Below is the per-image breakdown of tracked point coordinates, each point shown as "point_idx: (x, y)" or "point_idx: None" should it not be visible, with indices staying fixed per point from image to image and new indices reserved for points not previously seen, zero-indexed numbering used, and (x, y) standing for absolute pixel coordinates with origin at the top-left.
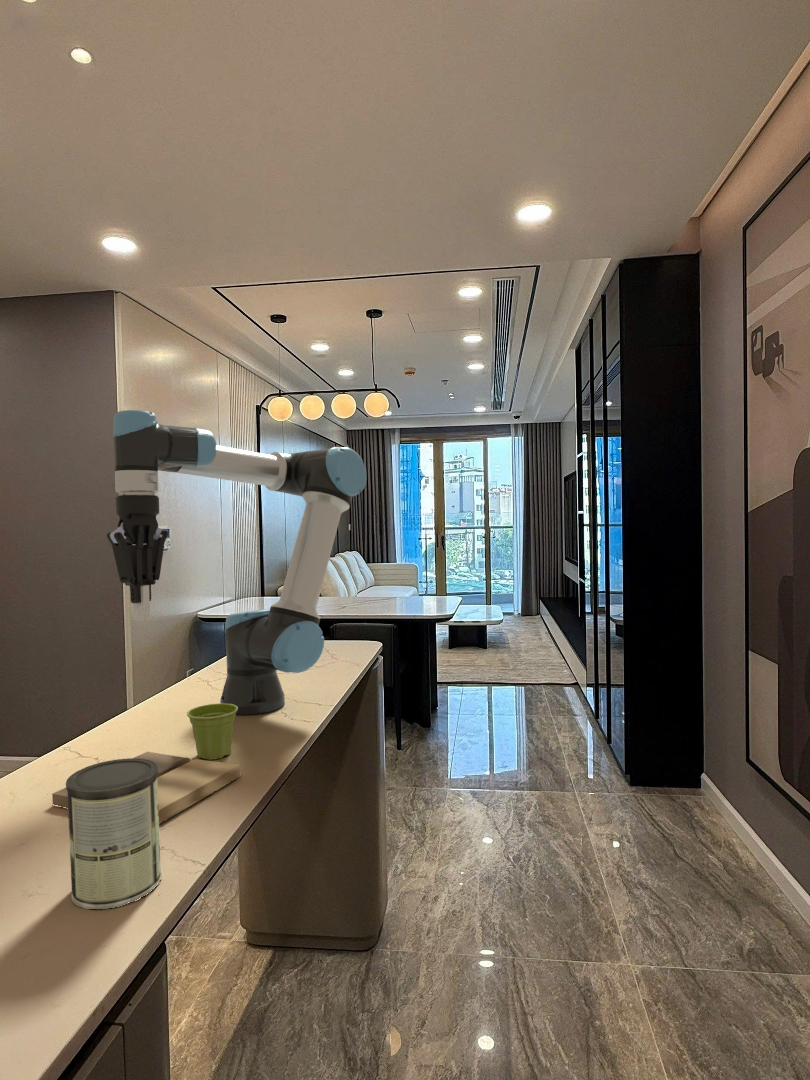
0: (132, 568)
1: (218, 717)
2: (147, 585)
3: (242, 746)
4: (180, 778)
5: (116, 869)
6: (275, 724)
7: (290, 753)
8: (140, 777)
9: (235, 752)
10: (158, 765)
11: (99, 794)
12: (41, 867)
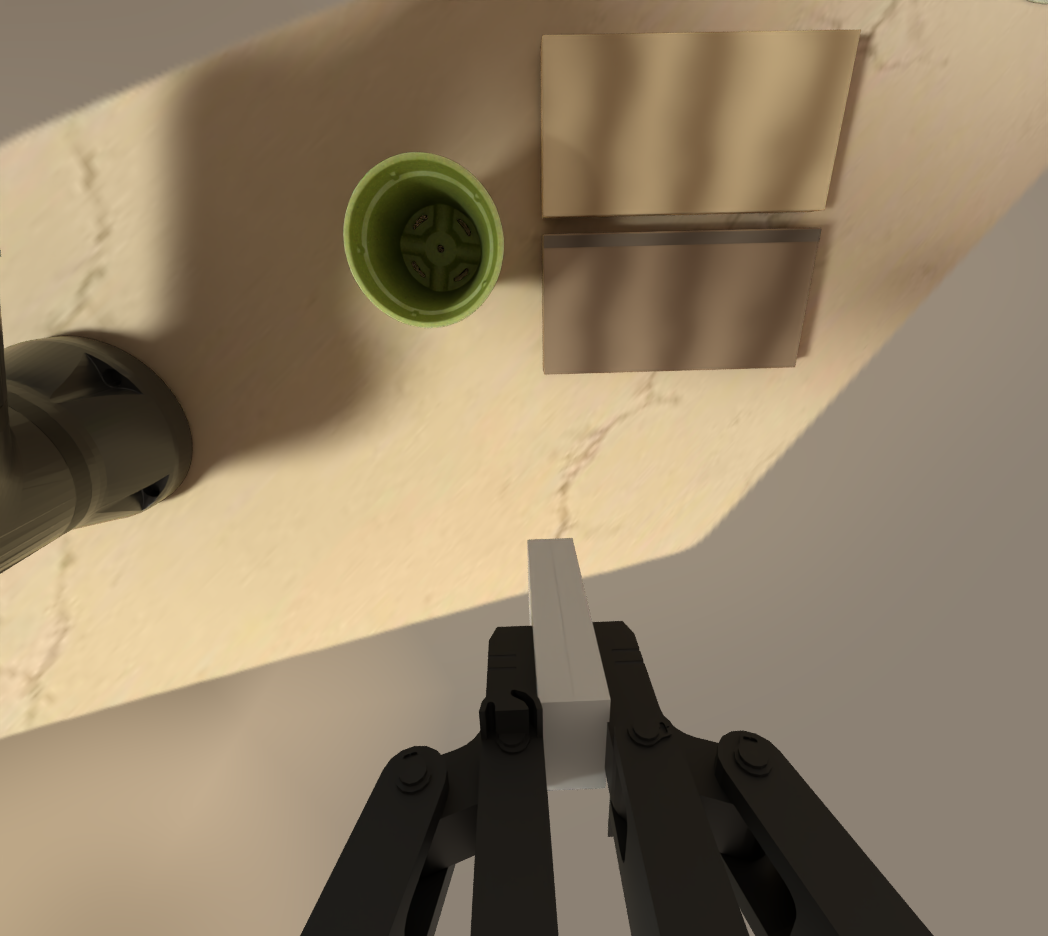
0: (816, 898)
1: (468, 171)
2: (556, 702)
3: None
4: (664, 144)
5: None
6: (173, 251)
7: (335, 23)
8: None
9: None
10: (607, 274)
11: None
12: (1007, 144)
